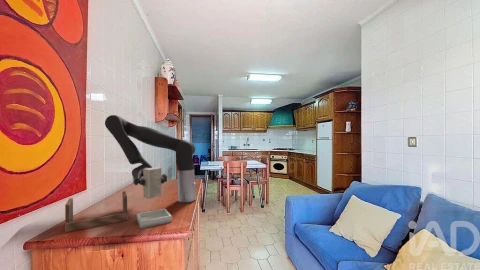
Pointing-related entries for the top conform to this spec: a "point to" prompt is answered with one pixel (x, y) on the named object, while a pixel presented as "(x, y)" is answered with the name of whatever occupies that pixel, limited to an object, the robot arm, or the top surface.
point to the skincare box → (152, 182)
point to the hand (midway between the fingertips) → (153, 182)
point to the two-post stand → (94, 221)
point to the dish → (153, 218)
